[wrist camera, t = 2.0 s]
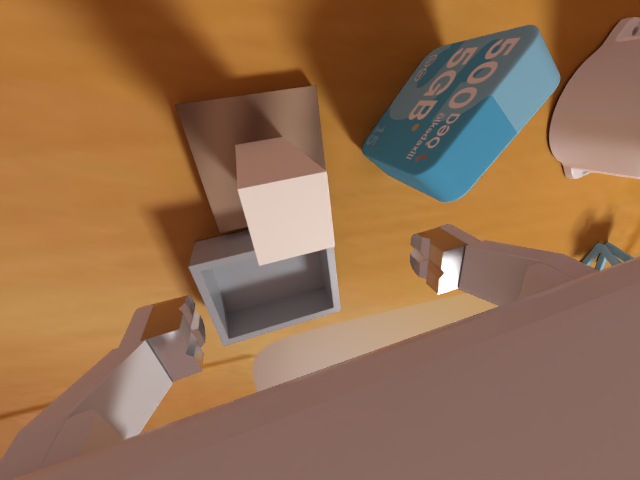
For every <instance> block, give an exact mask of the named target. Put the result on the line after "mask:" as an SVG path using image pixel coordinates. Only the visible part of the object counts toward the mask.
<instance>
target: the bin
mask: <svg viewBox="0 0 640 480" xmlns="http://www.w3.org/2000/svg"><path fill="white" fill-rule="evenodd" d="M188 267H189V269H190V272H191V274H192V276H193V278H194V281H195V283H196V285H197V287H198V290H199V292H200V294H201V296H202V299H203V301H204V303H205V305H206V308H207V310H208V312H209V314H210V317H211V319H212V321H213V323H214V326H215V328H216V330H217V332H218V335H219V337H220V339H221V341H222V344H223V346H226V345H229V344H233V343H236V342H239V341H243V340H246V339H249V338H252V337H256V336H259V335H262V334H266V333H269V332H272V331H275V330H279V329H282V328H285V327H289V326H292V325H295V324H298V323H302V322H305V321H308V320H312V319H315V318H318V317H321V316H325V315H328V314H331V313H335V312H338V311H341V309H340V300H339V291H338V282H337V273H336V264H335V255H334V247H331V248H327V249H323V250H319V251H316V252H312V253H308V254H304V255H300V256H296V257H292V258H288V259H284V260H280V261H277V262H273V263H269V264H265V265H261V266H259V264H258V260H257V256H256V253H255V249H254V246H253V242H252V239H251V235H250V232H249V230H245V231H240V232H236V233H232V234H227V235H223V236H219V237H214V238H210V239H206V240H201V241H197V242H195V243H194V247H193V251H192V254H191V258H190V262H189V266H188Z"/></svg>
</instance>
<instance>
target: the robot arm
mask: <svg viewBox="0 0 640 480" xmlns="http://www.w3.org/2000/svg"><path fill="white" fill-rule="evenodd" d="M549 142H550V148H551V151H552V154H553V155H554V157H555V158H556V159H557V160H558V161H559V162H561V163H562V165H563V168H564V173H565V176H566V177H567V178H571V179H578V178H580V177H582V176H584V175H586V174H589V173H591V172H596V173H602V174H609V175H615V176H622V177H629V178H636V179H640V18H639V17H629V18H624V19H622V20H621V21H620V22H619V23H618V24H617V25H616V26H615V28H614V29H613V30H612V32H611V33H610V34H609V36H608V37H607V39H606V40H605V42H604V43H603V45H602V46H601V47H600V48H599V49H598V50H597V51H596V52H595V53H593V54H592V55H591V56H590V57H589V58H588V59H587V60H586V61H585V62H584V63H583V64H582V65H581V66H580V67H579V68H578V70H577V71H576V72H575V73H574V75H573V76H572V78H571V79H570V80H569V82H568V83H567V85H566V87H565V88H564V90H563V92H562V94H561V96H560V98H559V100H558V102H557V105H556V107H555V110H554V113H553V116H552V120H551V125H550V132H549ZM411 245H412V247H413V248H414V249H413V251H412V252H411V254H410V263H411V266H412V269H413V270H414V272H415V273H416V274H417V275H418V276H419V277H422V278H425V279H426V284H428V285H429V286H430V287H431V288H432V289H433V290H434V291H435V292H436V293H437V294H440V293H444V292H447V291H451V290H454V289H457V288H459V290H462V291H464V292H466V293H469V294H471V295H474V296H476V297H478V298H481V299H483V300H486V301H488V302H491V303H493V304H495V305H498V306H499V307H496V308H493V309H490V310H487V311H485V312H482V313H479V314H476V315H473V316H471V317H468V318H465V319H462V320H460V321H457V322H454V323H451V324H448V325H445V326H442V327H439V328H437V329H434V330H431V331H428V332H425V333H422V334H420V335H417V336H414V337H411V338H408V339H405V340H403V341H400V342H397V343H394V344H391V345H389V346H386V347H383V348H380V349H377V350H375V351H372V352H369V353H366V354H363V355H361V356H358V357H355V358H352V359H349V360H346V361H344V362H341V363H338V364H335V365H332V366H330V367H327V368H324V369H321V370H318V371H316V372H313V373H310V374H307V375H305V376H301V377H299V378H296V379H293V380H291V381H287V382H285V383H282V384H279V385H276V386H273V387H271V388H268V389H265V390H262V391H259V392H256V393H254V394H251V395H248V396H245V397H242V398H240V399H237V400H234V401H231V402H228V403H226V404H223V405H220V406H217V407H214V408H211V409H209V410H206V411H203V412H200V413H197V414H195V415H192V416H189V417H186V418H183V419H180V420H178V421H175V422H172V423H169V424H166V425H164V426H161V427H158V428H155V429H152V430H150V431H147V432H144V433H141V434H140V432H141V431H142V429H143V428H144V426H145V425H146V423H147V422H148V420H149V419H150V417H151V416H152V414H153V413H154V411H155V410H156V408H157V407H158V405H159V403H160V402H161V400H162V399H163V397H164V396H165V394H166V393H167V391H168V390H169V388H170V387H171V385H172V384H173V383H172V382H173V381H176V380H179V379H182V378H185V377H187V376H190V375H193V374H196V373H199V372H202V365H203V356H204V353H203V351H202V349H201V347H202V346H203V344H204V343H205V327H204V324H203V320H202V318H201V316H200V314H198V313H196V312H194V310H195V303H194V301H193V299H192V297H190V296H189V295H187V296H183V297H179V298H175V299H171V300H167V301H163V302H159V303H156V304H152V305H148V306H144V307H141V308H138V309H137V310H136V311H135V313H134V315H133V317H132V319H131V322H130V324H129V326H128V328H127V330H126V333H125V335H124V337H123V339H122V341H121V344H120V346H119V348H116V349H113V350H112V351H111V352H109V353H108V354H107V355H106V356H105V357H104V358H103V359H101V360H100V361H99V362H98V363H97V364H96V365H95V366H93V367H92V368H91V369H90V370H89V371H88V372H87V373H85V374H84V375H83V376H82V377H81V378H80V379H79V380H77V381H76V382H75V383H74V384H73V385H72V386H71V387H69V388H68V389H67V390H66V391H65V392H64V393H63V394H61V395H60V396H59V397H58V398H57V399H56V400H55V401H53V402H52V403H51V404H50V405H49V406H48V407H47V408H45V409H44V410H43V411H42V412H41V413H40V414H39V415H37V416H36V417H35V418H34V419H33V420H32V421H31V422H29V423H28V424H27V425H26V426H25V427H24V428H23V429H21V430H20V431H19V432H18V434H17V435H16V437H15V439H14V440H13V442H12V443H11V445H10V446H9V448H8V450H7V451H6V453H5V454H4V456H3V457H2V459H1V461H0V480H640V256H639V257H637V258H634V259H631V260H628V261H625V262H622V263H619V264H617V265H614V266H611V267H608V268H605V269H603V270H600V271H599V270H597V269H594V268H592V267H590V266H588V265H586V264H584V263H581V262H579V261H577V260H575V259H573V258H571V257H568V256H566V255H564V254H560V253H554V252H549V251H543V250H537V249H531V248H526V247H520V246H514V245H509V244H503V243H497V242H492V241H486V240H485V241H480V240H478V239H476V238H475V237H473V236H471V235H469V234H467V233H466V232H464V231H462V230H460V229H458V228H457V227H455V226H453V225H449V224H447V225H443V226H440V227H437V228H434V229H431V230H428V231H424V232H421V233H417V234H414V235H413V236H412V238H411Z"/></svg>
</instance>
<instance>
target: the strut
mask: <svg viewBox="0 0 640 480" xmlns="http://www.w3.org/2000/svg"><path fill="white" fill-rule="evenodd" d="M235 151H236V171H237V190H238V193H239V197H240V200H241V204H242V207H243V211H244V214H245V218H246V221H247V225H248V228H249V232H250V235H251V239H252V242H253V246H254V249H255V253H256V256H257V260H258V264H259V266H261V265H265V264H269V263H273V262H277V261H280V260H284V259H288V258H292V257H296V256H300V255H304V254H308V253H312V252H316V251H319V250H323V249H327V248H331V247H335V243H334V233H333V224H332V215H331V206H330V196H329V187H328V178H327V171H326V170H324V169H323V168H322V167H321V166H319V165H318V164H317V163H315V162H314V161H313V160H312V159H310V158H309V157H308V156H306V155H305V154H304V153H303V152H301V151H300V150H299V149H297V148H296V147H295V146H294V145H292V144H291V143H290V142H288V141H287V140H286V139H285V138H283V137H279V138H273V139H267V140H261V141H255V142H249V143H244V144H238V145H235Z"/></svg>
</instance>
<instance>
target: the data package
mask: <svg viewBox="0 0 640 480" xmlns="http://www.w3.org/2000/svg"><path fill="white" fill-rule="evenodd" d="M559 82H560V74H559V71H558V69H557V67H556V65H555V63H554V61H553V59H552V56H551V54H550V52H549V50H548V48H547V46H546V44H545V42H544V39H543V37H542V35H541V33H540V31H539V29H538V28H537V27H536V26H534V25H526V26H522V27H518V28H514V29H510V30H506V31H502V32H498V33H494V34H490V35H486V36H482V37H478V38H473V39H469V40H465V41H461V42H457V43H453V44H449V45H445V46H441V47H438V48H436V49H435V50H433V51H432V52H430V53H429V54H428V55H427V56H426V57H425V58H424V59H423V60H422V62H421V63H420V64H419V66H418V67H417V69H416V70H415V71H414V73H413V74H412V76H411V77H410V78H409V80H408V81H407V83H406V84H405V85H404V87H403V88H402V90H401V91H400V92H399V94H398V95H397V97H396V98H395V99H394V101H393V102H392V104H391V105H390V106H389V108H388V109H387V111H386V112H385V113H384V115H383V116H382V118H381V119H380V120H379V122H378V123H377V125H376V126H375V127H374V129H373V130H372V132H371V133H370V134H369V136H368V137H367V139H366V140H365V142H364V144H363V147H362V152H363V154H364V155H365V156H366V157H367V158H369V159H370V160H371V161H372V162H373V163H374V164H376V165H377V166H378V167H379V168H380V169H382V170H383V171H384V172H385V173H386V174H387V175H389V176H391V177H393V178H395V179H397V180H399V181H401V182H403V183H405V184H407V185H409V186H411V187H413V188H415V189H417V190H419V191H421V192H423V193H425V194H427V195H429V196H431V197H433V198H435V199H437V200H439V201H441V202H452V201H455V200H458V199H460V198H461V197H463V196H464V195H465V194H466V193H467V192H468V191H469V190H470V189H471V188H472V187H473V186H474V184H475V183H476V182H477V181H478V180H479V178H480V177H481V176H482V175H483V174H484V173H485V171H486V170H487V169H488V168H489V167H490V166H491V164H492V163H493V162H494V161H495V160H496V159H497V157H498V156H499V155H500V154H501V153H502V152H503V150H504V149H505V148H506V147H507V146H508V145H509V143H510V142H511V141H512V140H513V139H514V138H515V136H516V135H517V134H518V133H519V132H520V131H521V129H522V128H523V127H524V126H525V125H526V124H527V122H528V121H529V120H530V119H531V118H532V117H533V115H534V114H535V113H536V112H537V111H538V110H539V108H540V107H541V106H542V105H543V104H544V103H545V101H546V100H547V99H548V98H549V97H550V96H551V94H552V93H553V92H554V91H555V89H556V88H557V87H558V85H559Z"/></svg>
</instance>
